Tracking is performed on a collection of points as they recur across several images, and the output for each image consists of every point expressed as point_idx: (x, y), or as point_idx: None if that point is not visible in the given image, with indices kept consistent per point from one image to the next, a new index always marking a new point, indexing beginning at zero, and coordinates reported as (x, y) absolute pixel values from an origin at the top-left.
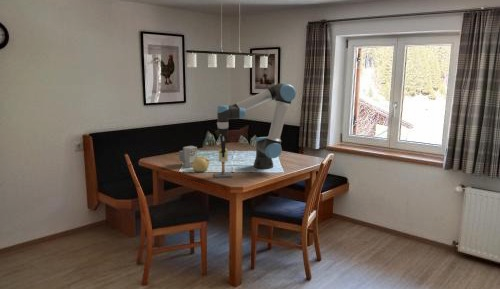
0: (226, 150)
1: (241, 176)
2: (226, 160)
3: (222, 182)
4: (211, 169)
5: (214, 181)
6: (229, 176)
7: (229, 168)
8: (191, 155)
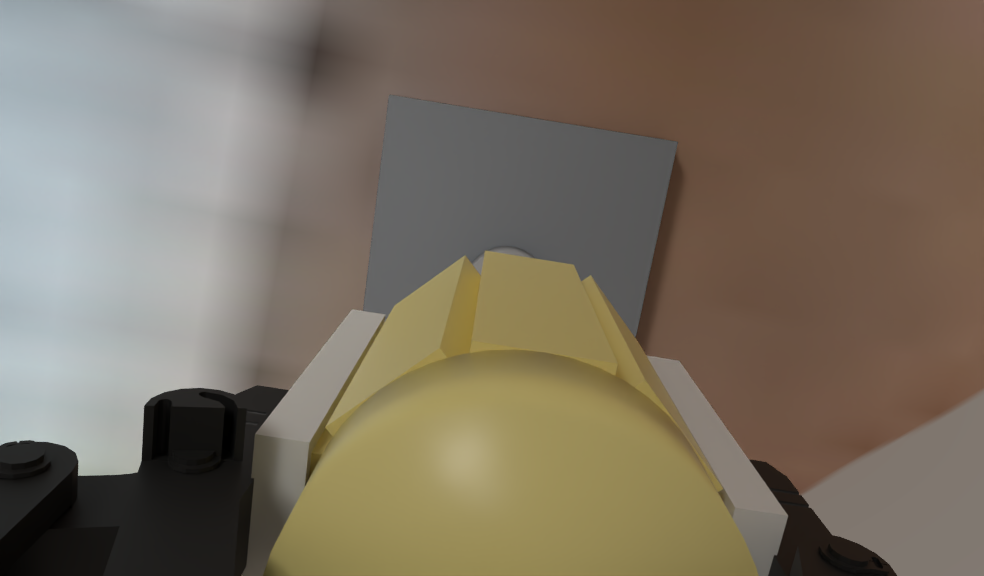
0: (704, 473)
1: None
2: (618, 315)
3: (904, 374)
4: (50, 405)
5: (800, 484)
6: (663, 195)
7: (9, 45)
8: None
